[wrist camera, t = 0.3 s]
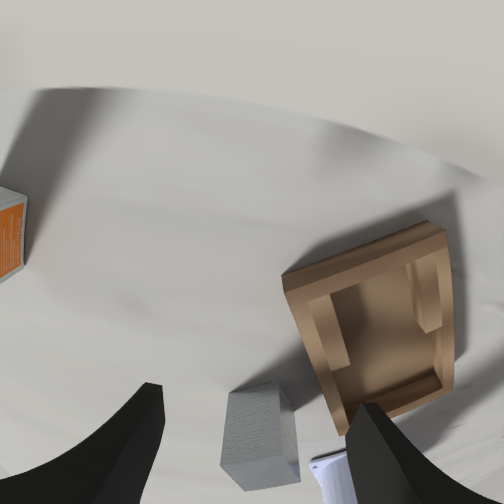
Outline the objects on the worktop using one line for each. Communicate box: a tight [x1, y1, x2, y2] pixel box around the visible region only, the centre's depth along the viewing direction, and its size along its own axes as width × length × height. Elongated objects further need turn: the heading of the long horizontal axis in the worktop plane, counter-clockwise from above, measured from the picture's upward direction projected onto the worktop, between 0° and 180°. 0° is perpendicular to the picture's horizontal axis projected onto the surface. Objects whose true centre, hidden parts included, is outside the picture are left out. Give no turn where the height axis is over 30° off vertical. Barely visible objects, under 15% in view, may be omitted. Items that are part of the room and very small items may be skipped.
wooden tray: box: [281, 220, 455, 437], centre depth 19 cm, size 14×10×2 cm
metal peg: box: [220, 380, 301, 491], centre depth 20 cm, size 4×4×7 cm
